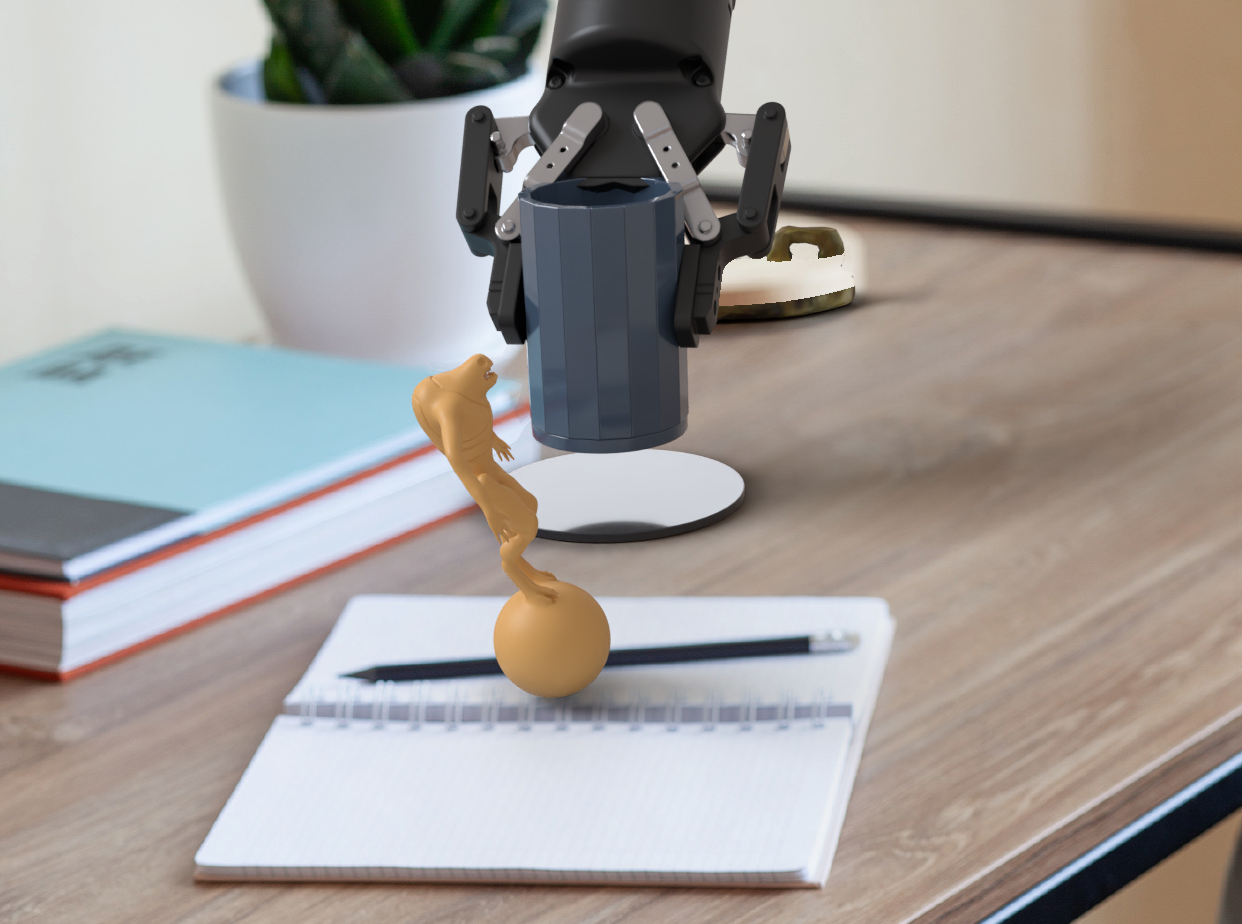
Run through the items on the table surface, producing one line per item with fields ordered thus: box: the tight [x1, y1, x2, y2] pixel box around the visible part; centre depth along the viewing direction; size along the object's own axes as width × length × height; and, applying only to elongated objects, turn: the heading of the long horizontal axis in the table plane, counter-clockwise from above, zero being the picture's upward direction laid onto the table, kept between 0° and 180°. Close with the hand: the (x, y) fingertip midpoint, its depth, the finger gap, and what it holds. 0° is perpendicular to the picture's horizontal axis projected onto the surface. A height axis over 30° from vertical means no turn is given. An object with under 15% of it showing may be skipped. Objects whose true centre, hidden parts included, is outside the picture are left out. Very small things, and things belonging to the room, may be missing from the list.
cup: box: [517, 177, 690, 454], centre depth 86 cm, size 7×7×10 cm
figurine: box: [411, 353, 612, 699], centre depth 69 cm, size 8×6×12 cm
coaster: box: [507, 448, 746, 543], centre depth 89 cm, size 11×11×1 cm
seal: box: [717, 225, 856, 322], centre depth 118 cm, size 9×5×15 cm
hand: (597, 336), depth 85 cm, fingers closed on cup, 6 cm apart
